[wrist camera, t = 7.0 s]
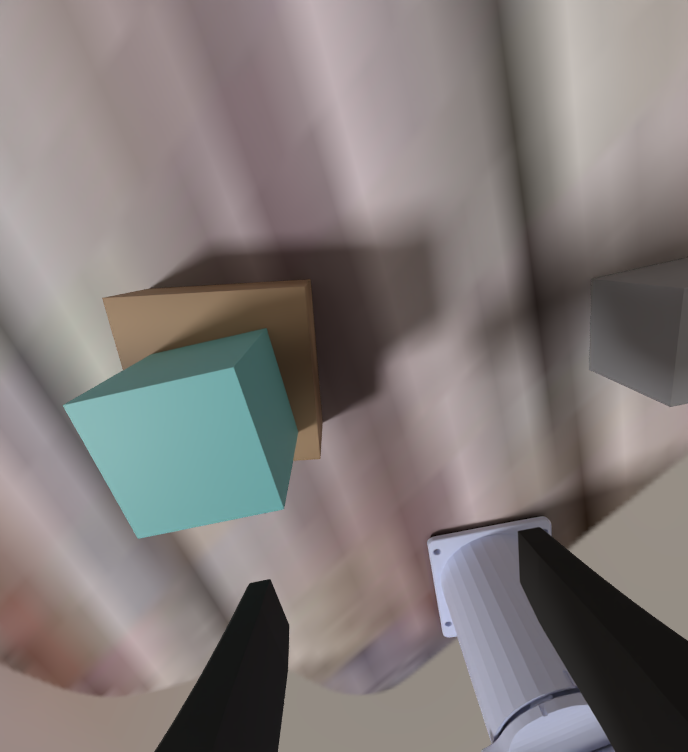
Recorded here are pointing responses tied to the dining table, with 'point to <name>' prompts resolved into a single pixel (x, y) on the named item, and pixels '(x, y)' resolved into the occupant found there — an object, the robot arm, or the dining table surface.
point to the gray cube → (643, 330)
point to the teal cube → (192, 434)
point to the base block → (230, 334)
